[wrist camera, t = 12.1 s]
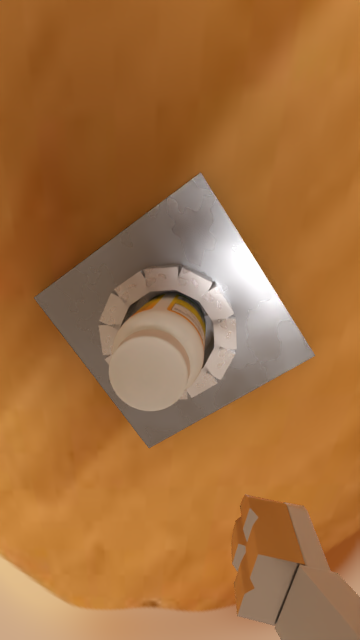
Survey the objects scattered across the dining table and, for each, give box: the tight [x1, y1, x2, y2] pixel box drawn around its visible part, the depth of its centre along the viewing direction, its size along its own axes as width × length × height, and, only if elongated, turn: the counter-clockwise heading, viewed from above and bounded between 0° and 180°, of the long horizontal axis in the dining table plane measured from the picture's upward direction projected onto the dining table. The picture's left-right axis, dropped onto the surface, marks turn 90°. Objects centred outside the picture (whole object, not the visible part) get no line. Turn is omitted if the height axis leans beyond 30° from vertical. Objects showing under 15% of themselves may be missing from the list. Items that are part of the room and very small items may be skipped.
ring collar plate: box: [34, 173, 315, 448], centre depth 24 cm, size 16×16×4 cm
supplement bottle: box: [109, 293, 206, 411], centre depth 20 cm, size 5×5×10 cm
